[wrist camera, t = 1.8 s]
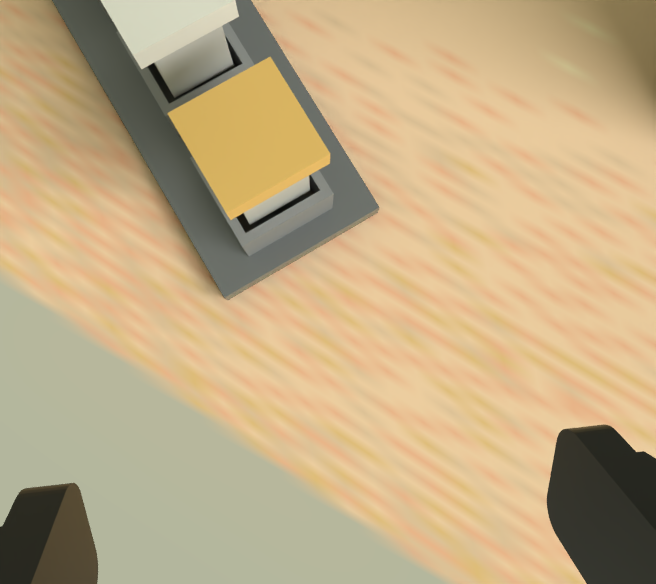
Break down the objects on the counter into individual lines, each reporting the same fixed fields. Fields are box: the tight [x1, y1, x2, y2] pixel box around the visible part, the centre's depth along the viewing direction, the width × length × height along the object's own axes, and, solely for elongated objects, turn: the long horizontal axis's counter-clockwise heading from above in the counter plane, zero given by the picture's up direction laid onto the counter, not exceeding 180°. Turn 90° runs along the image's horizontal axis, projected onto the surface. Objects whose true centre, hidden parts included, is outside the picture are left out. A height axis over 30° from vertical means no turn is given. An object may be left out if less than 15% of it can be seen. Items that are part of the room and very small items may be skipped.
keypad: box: [52, 0, 379, 300], centre depth 32 cm, size 24×10×4 cm, turn 31°
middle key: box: [101, 0, 239, 98], centre depth 28 cm, size 5×5×6 cm
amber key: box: [167, 57, 330, 225], centre depth 27 cm, size 5×5×6 cm
